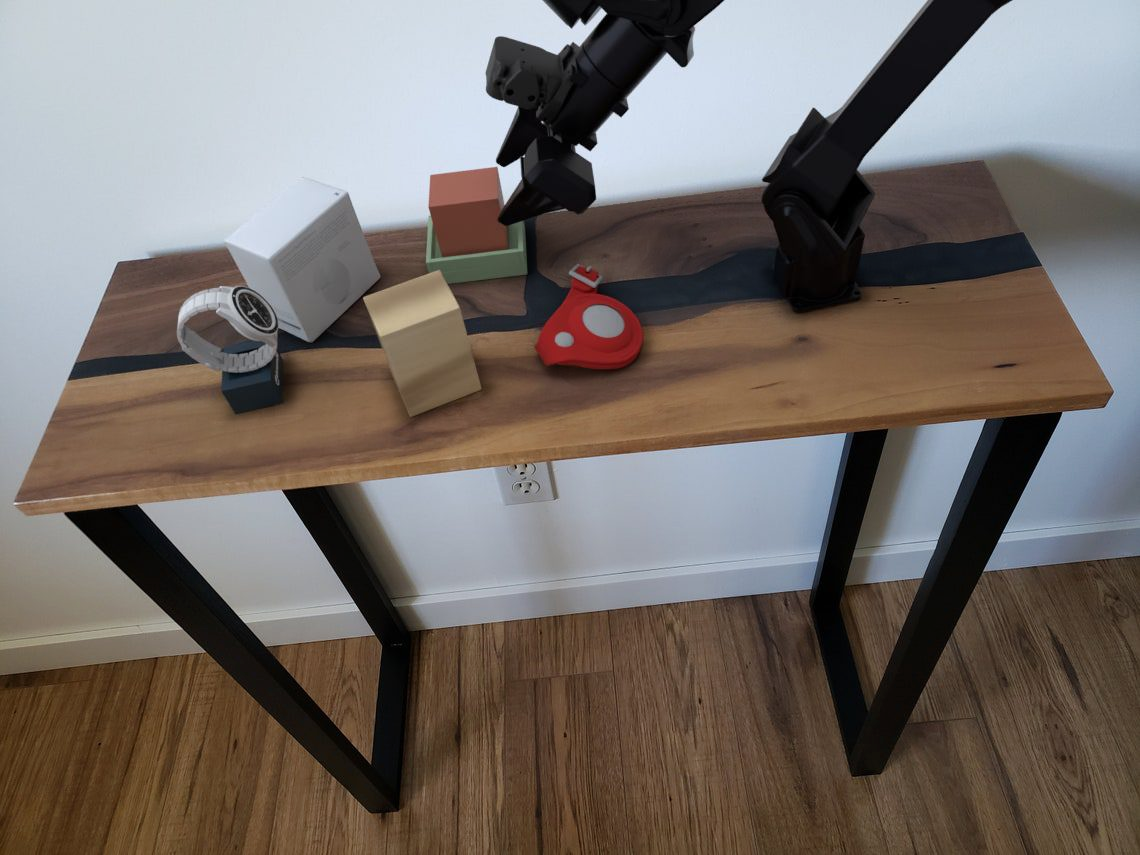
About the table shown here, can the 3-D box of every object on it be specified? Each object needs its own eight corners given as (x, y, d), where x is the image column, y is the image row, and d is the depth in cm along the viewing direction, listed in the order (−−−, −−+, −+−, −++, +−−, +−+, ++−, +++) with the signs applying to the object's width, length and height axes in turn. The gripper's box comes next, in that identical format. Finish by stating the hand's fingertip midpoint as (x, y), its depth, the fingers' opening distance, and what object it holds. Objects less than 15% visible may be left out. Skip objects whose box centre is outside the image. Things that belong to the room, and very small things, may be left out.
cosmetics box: (335, 259, 90) (301, 173, 82) (382, 278, 87) (351, 191, 79) (263, 322, 85) (219, 238, 76) (311, 345, 82) (270, 259, 74)
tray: (525, 228, 90) (521, 204, 88) (527, 274, 85) (523, 250, 83) (434, 238, 90) (428, 215, 88) (432, 285, 86) (425, 262, 83)
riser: (482, 389, 76) (460, 307, 69) (410, 417, 75) (379, 336, 67) (462, 352, 80) (439, 269, 72) (393, 378, 78) (362, 296, 71)
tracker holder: (668, 339, 76) (575, 372, 72) (652, 370, 80) (563, 403, 75) (596, 245, 81) (504, 270, 76) (584, 277, 85) (495, 303, 80)
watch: (304, 398, 78) (259, 309, 69) (215, 418, 77) (158, 331, 69) (303, 354, 81) (260, 264, 73) (218, 373, 81) (164, 285, 72)
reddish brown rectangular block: (509, 257, 85) (498, 198, 79) (444, 265, 85) (428, 206, 80) (508, 225, 88) (497, 166, 83) (445, 233, 88) (430, 174, 83)
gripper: (527, -43, 75) (430, 92, 84) (538, 68, 63) (423, 211, 72) (623, 34, 80) (522, 152, 89) (649, 148, 69) (530, 272, 78)
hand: (500, 192), depth 82 cm, fingers open, 9 cm apart
